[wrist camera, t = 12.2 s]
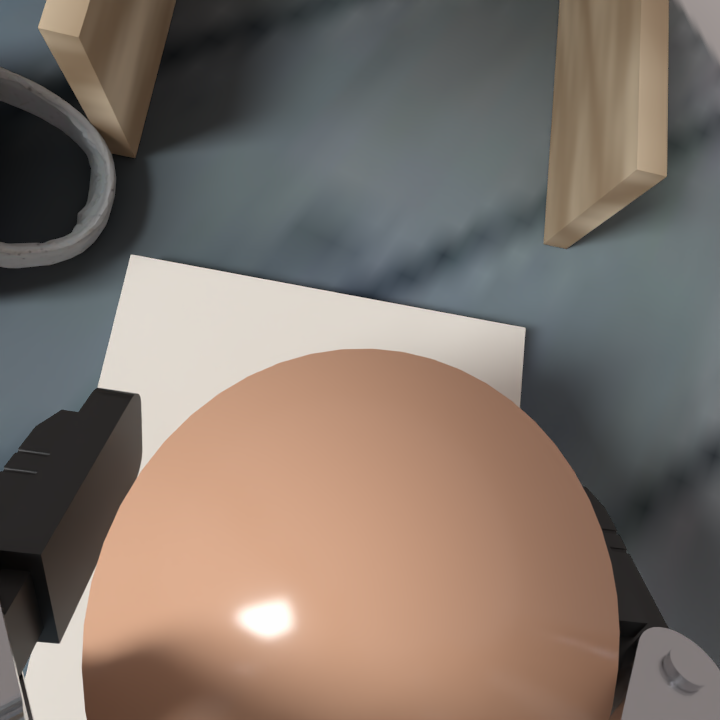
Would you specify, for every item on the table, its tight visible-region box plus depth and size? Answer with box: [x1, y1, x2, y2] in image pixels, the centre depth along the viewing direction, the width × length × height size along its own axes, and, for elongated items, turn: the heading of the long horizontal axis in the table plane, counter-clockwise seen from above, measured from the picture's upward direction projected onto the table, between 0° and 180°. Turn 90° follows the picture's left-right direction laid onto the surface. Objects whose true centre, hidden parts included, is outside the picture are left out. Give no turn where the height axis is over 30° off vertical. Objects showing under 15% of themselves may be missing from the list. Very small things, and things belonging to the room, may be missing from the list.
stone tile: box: [25, 255, 526, 720], centre depth 17 cm, size 14×14×1 cm
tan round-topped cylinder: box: [82, 349, 620, 720], centre depth 11 cm, size 7×7×10 cm
